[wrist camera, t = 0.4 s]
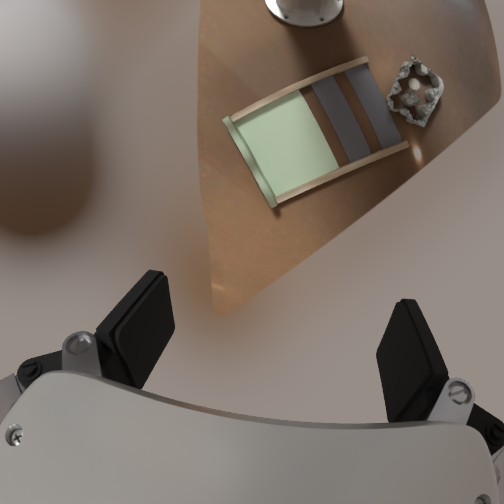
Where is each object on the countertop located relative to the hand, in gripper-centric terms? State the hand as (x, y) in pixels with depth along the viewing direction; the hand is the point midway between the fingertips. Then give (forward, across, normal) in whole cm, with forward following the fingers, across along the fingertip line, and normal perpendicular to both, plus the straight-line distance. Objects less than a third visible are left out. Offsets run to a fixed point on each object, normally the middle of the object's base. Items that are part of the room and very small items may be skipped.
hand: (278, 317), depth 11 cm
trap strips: (+36, -9, -11) cm, 39 cm away
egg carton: (+36, -18, -16) cm, 44 cm away
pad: (+36, +2, -4) cm, 36 cm away
